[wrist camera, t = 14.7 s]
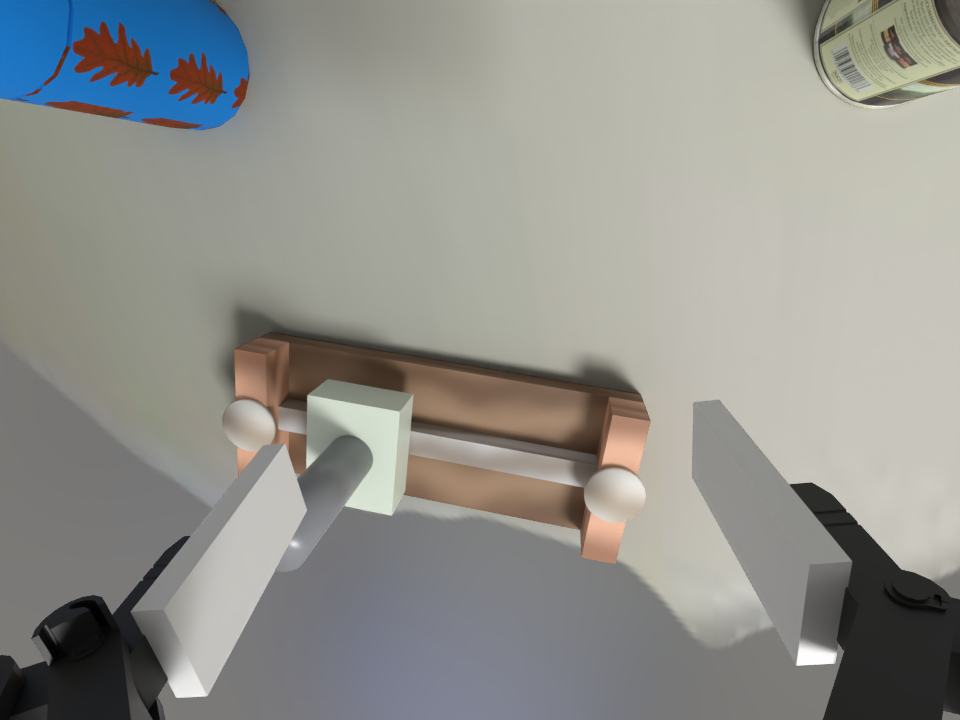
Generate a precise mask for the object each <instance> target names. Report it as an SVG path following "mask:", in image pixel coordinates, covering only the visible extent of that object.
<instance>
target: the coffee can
mask: <svg viewBox="0 0 960 720" xmlns="http://www.w3.org/2000/svg"><path fill="white" fill-rule="evenodd" d="M814 57H815V64H816V66H817V69H818V72H819V74H820V76H821V78H822V80H823V82H824V83H825V85H826V86H827V87H828V88H829V90H830V91H831V92H832V93H833V94H835V95H836V96H837V97H839V98H840V99H842V100H843V101H845V102H847V103H848V104H851V105H854V106H859V107H863V108H871V109H879V108H889V107H894V106H898V105H901V104H904V103H908V102H910V101H912V100H915V99H918V98H921V97H925V96H928V95H931V94H935V93H938V92H942V91H946V90H949V89H953V88H956V87H959V86H960V0H826V2H825V4H824V6H823V9H822V11H821V13H820V16H819V19H818V22H817V26H816V29H815V35H814Z"/></svg>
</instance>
